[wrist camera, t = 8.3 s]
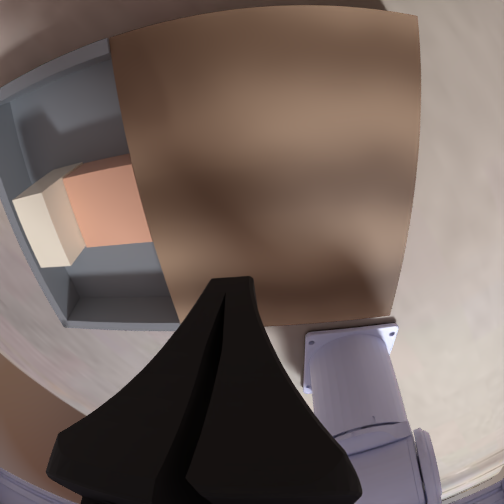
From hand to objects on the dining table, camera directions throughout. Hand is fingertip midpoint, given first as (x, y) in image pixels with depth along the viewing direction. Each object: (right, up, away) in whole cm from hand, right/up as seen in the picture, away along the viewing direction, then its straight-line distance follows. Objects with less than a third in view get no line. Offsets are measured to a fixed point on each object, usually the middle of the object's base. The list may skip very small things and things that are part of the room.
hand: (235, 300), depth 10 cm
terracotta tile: (-7, +5, +7) cm, 12 cm away
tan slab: (+2, +6, +7) cm, 10 cm away
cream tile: (-10, +4, +6) cm, 12 cm away
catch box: (-10, +5, +8) cm, 14 cm away
